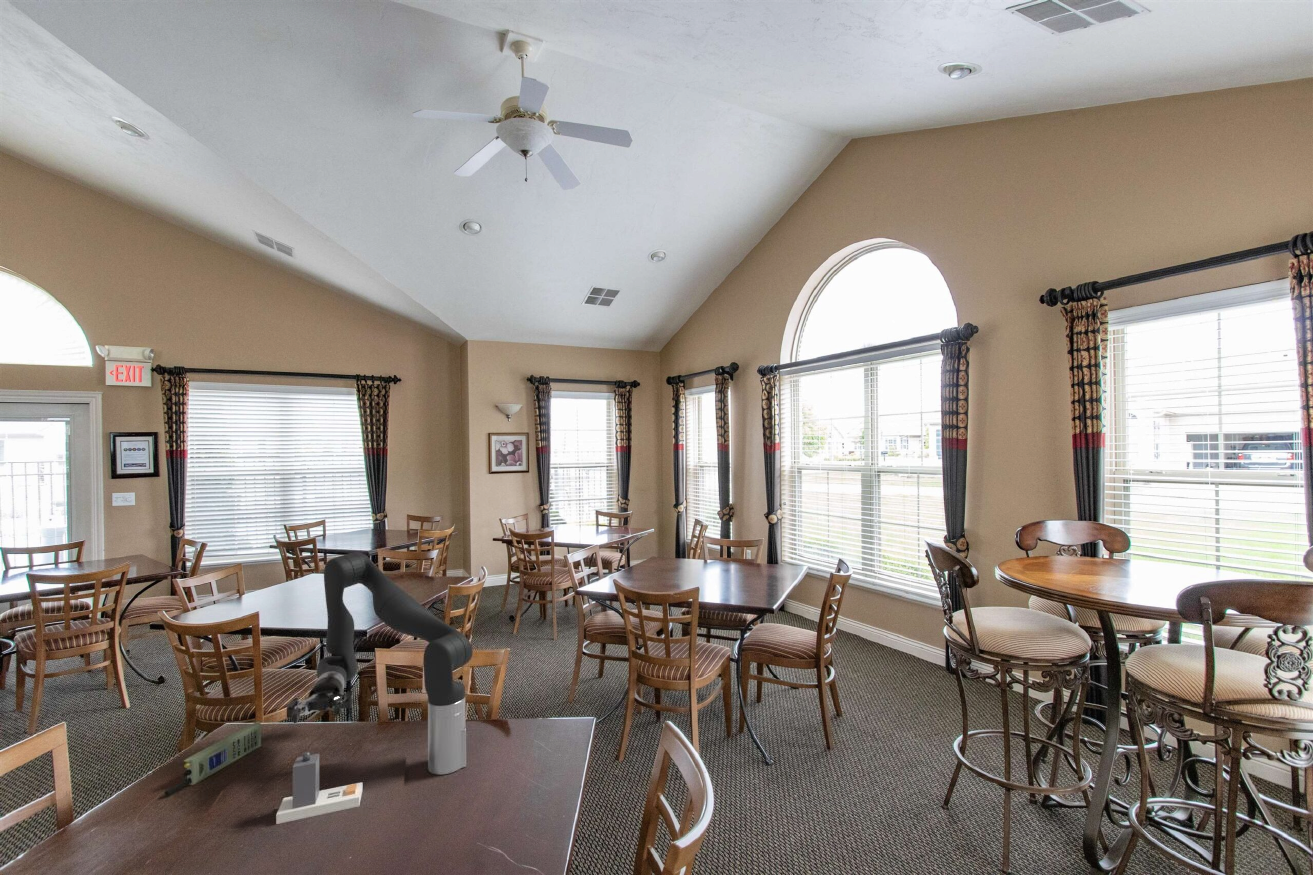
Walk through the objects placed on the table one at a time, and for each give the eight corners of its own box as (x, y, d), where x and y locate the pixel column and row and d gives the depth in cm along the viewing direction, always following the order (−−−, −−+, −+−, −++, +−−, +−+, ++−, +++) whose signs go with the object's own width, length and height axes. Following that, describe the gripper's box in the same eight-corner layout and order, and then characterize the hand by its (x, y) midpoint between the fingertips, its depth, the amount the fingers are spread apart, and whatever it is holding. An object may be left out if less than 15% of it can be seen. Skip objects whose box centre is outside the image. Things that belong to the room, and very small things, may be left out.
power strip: (390, 791, 136) (390, 773, 136) (388, 806, 130) (388, 787, 130) (283, 813, 128) (283, 794, 128) (276, 831, 122) (276, 810, 122)
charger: (319, 801, 129) (319, 746, 130) (315, 812, 125) (315, 755, 126) (296, 806, 128) (297, 750, 128) (292, 817, 124) (292, 759, 124)
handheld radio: (263, 746, 159) (172, 799, 134) (253, 746, 159) (160, 799, 135) (262, 722, 159) (171, 771, 134) (253, 722, 160) (160, 770, 135)
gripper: (297, 680, 150) (281, 705, 135) (357, 672, 155) (348, 695, 140) (296, 708, 150) (281, 737, 135) (356, 699, 155) (348, 726, 140)
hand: (315, 716), depth 138 cm, fingers open, 8 cm apart
